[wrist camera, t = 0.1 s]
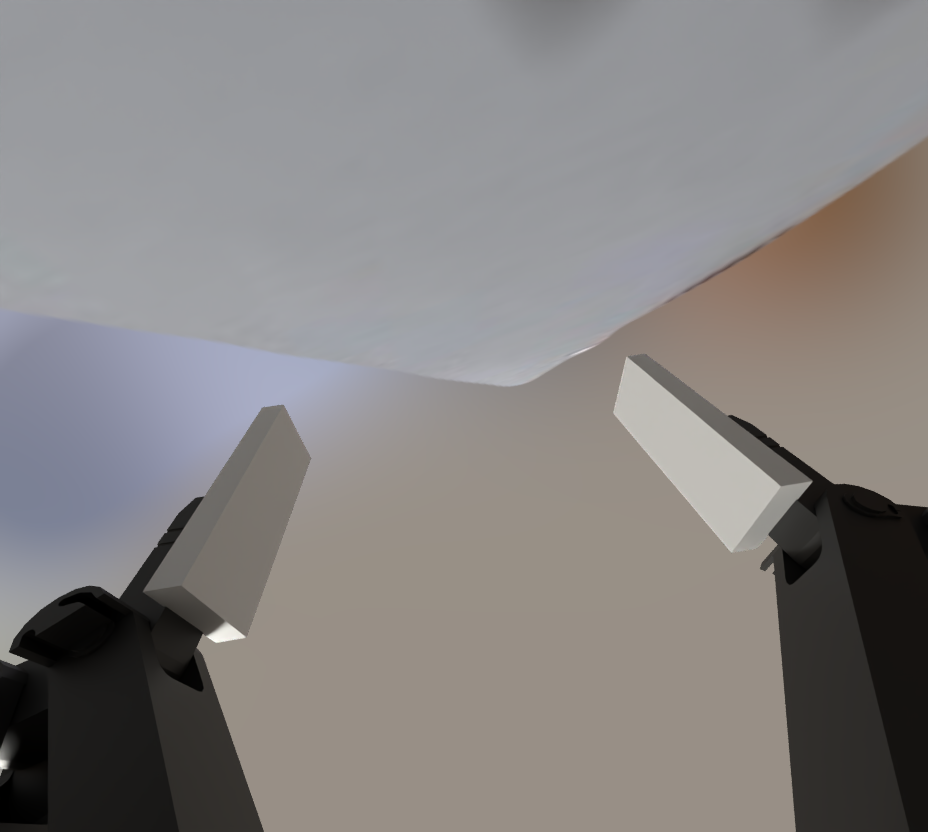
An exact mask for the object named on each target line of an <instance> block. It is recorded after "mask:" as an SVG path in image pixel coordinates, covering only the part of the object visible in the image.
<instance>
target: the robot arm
mask: <svg viewBox="0 0 928 832" xmlns="http://www.w3.org/2000/svg"><path fill="white" fill-rule="evenodd" d="M613 413H614V415H615V416H616V417H617V418H618V419H619V421H620V422H621V423H622V424H623V425H624V426H625V428H626V429H627V430H628V431H629V432H630V433H631V435H632V436H633V437H634V438H635V439H636V441H637V442H638V443H639V444H640V445H641V446H642V448H643V449H644V450H645V451H646V452H647V454H648V455H649V456H650V457H651V458H652V460H653V461H654V462H655V463H656V464H657V465H658V467H659V468H660V469H661V470H662V471H663V473H664V474H665V475H666V476H667V477H668V478H669V480H670V481H671V482H672V483H673V484H674V485H675V487H676V488H677V489H678V490H679V491H680V493H681V494H682V495H683V496H684V497H685V499H686V500H687V501H688V502H689V503H690V504H691V505H692V507H693V508H694V509H695V510H696V511H697V513H698V514H699V515H700V516H701V517H702V519H703V520H704V521H705V522H706V523H707V524H708V526H709V527H710V528H711V529H712V530H713V532H714V533H715V534H716V535H717V536H718V537H719V539H720V540H721V541H722V542H723V543H724V545H725V546H726V547H727V548H728V549H729V550H730V552H732V553H733V552H739V551H745V550H751V549H756V548H758V547H759V546H760V545H761V544H762V542H763V541H764V540H765V539H766V538H767V536H768V535H769V536H770V537H771V538H772V539H773V540H774V541H775V542H776V543H777V544H778V545H777V546H776V547H775V549H774V550H773V551H772V552H771V553H770V554H769V555H768V557H767V558H766V559H765V560H764V561H763V562H762V564H761V567H760V569H761V570H764V571H766V570H767V568H768V567H769V566H770V565H771V564H772V563H774V569H775V571H774V572H773V574H774V575H775V582H776V594H777V605H778V618H779V631H780V643H781V655H782V667H783V679H784V691H785V704H786V716H787V728H788V739H789V752H790V763H791V764H790V765H791V776H792V787H793V801H794V812H795V824H796V832H928V507H919V506H908V505H898V504H895V503H893V502H892V501H891V500H889V499H887V498H885V497H884V496H882V495H880V494H878V493H876V492H874V491H871V490H868V489H865V488H862V487H859V486H854V485H849V484H833V483H831V482H830V481H829V480H827V479H826V478H825V477H823V476H822V475H821V474H819V473H818V472H816V471H815V470H814V469H812V468H811V467H810V466H808V465H807V464H805V463H804V462H803V461H801V460H800V459H799V458H797V457H796V456H795V455H793V454H792V453H790V452H789V451H788V450H786V449H785V448H784V447H780V446H779V444H778V443H777V442H775V441H774V440H773V439H771V438H770V437H769V438H767V436H766V434H764V433H763V432H762V431H760V430H759V429H758V428H756V427H755V426H753V425H752V424H750V423H748V422H746V421H744V420H741V419H739V418H737V417H735V416H733V415H729V416H727V415H725V414H724V413H723V412H721V411H720V410H719V409H717V408H716V407H715V406H713V405H712V404H711V403H710V402H708V401H707V400H706V399H704V398H703V397H702V396H700V395H699V394H698V393H696V392H695V391H694V390H693V389H691V388H690V387H688V386H687V385H686V384H685V383H683V382H682V381H681V380H679V379H678V378H677V377H675V376H674V375H673V374H671V373H670V372H669V371H668V370H666V369H665V368H663V367H662V366H661V365H660V364H658V363H657V362H656V361H654V360H653V359H651V358H650V357H649V356H648V355H647V354H640V355H634V356H627V357H626V361H625V365H624V370H623V374H622V378H621V382H620V387H619V391H618V395H617V400H616V404H615V408H614V412H613ZM310 460H311V457H310V455H309V453H308V451H307V450H306V448H305V446H304V444H303V442H302V440H301V438H300V436H299V434H298V432H297V430H296V428H295V426H294V424H293V422H292V420H291V418H290V416H289V414H288V412H287V410H286V409H285V407H284V405H277V406H271V407H263V408H262V409H261V411H260V412H259V414H258V415H257V417H256V418H255V420H254V421H253V423H252V424H251V426H250V427H249V429H248V430H247V432H246V434H245V435H244V437H243V438H242V440H241V441H240V443H239V444H238V446H237V447H236V449H235V451H234V452H233V454H232V455H231V457H230V458H229V460H228V461H227V463H226V464H225V466H224V467H223V469H222V470H221V472H220V474H219V475H218V477H217V478H216V480H215V481H214V483H213V484H212V486H211V487H210V489H209V490H208V492H207V494H206V495H205V496H204V497H198V498H195V499H194V500H193V501H192V502H191V503H190V504H188V505H187V506H186V507H185V508H184V509H183V510H182V511H181V512H180V513H179V514H178V515H177V516H176V518H175V519H174V521H173V522H172V524H171V525H170V527H169V528H168V529H167V531H168V532H167V533H165V534H164V535H163V537H162V538H161V540H160V541H159V542H158V547H156V548H154V550H153V551H152V552H151V554H150V555H149V557H148V558H147V560H146V561H145V562H144V564H143V565H142V567H141V568H140V570H139V571H138V573H137V574H136V575H135V577H134V578H133V580H132V581H131V583H130V584H129V586H128V587H127V588H126V590H125V591H124V593H123V594H122V596H121V597H120V599H118V598H116V597H115V596H113V595H112V594H110V593H108V592H107V591H105V590H104V589H102V588H101V587H96V586H86V587H82V588H78V589H75V590H73V591H71V592H69V593H67V594H65V595H63V596H61V597H59V598H57V599H56V600H54V601H53V602H51V603H50V604H48V605H47V606H46V607H44V608H43V609H41V610H40V611H39V612H38V613H37V614H36V615H35V616H34V617H33V618H31V619H30V620H29V621H28V622H27V623H26V624H25V625H24V627H23V628H22V629H21V631H20V632H19V633H18V634H17V636H16V637H15V638H14V640H13V643H12V645H11V648H10V650H9V652H10V653H12V654H15V655H17V656H20V657H22V658H25V659H28V661H25V662H23V663H21V664H18V665H16V666H15V665H12V664H10V663H7V662H4V661H2V660H0V768H1V769H3V770H2V773H1V776H0V832H264V831H263V828H262V825H261V822H260V819H259V816H258V813H257V810H256V807H255V805H254V802H253V799H252V796H251V793H250V790H249V787H248V784H247V782H246V779H245V776H244V773H243V770H242V767H241V764H240V761H239V759H238V756H237V753H236V750H235V747H234V744H233V741H232V738H231V735H230V733H229V730H228V727H227V724H226V721H225V718H224V715H223V712H222V710H221V707H220V704H219V701H218V698H217V695H216V692H215V689H214V687H213V684H212V681H211V678H210V675H209V672H208V669H207V667H206V664H205V661H204V658H203V655H202V654H201V652H200V651H199V650H198V649H197V648H196V647H197V645H198V643H199V641H200V638H201V636H202V634H204V635H205V636H207V637H208V638H210V639H211V640H212V641H214V642H215V643H217V642H223V641H229V640H235V639H241V638H246V637H247V635H248V632H249V629H250V626H251V623H252V621H253V618H254V615H255V612H256V610H257V607H258V604H259V601H260V598H261V596H262V593H263V590H264V587H265V584H266V582H267V579H268V576H269V574H270V571H271V568H272V565H273V562H274V560H275V557H276V554H277V551H278V549H279V546H280V543H281V540H282V538H283V535H284V532H285V529H286V526H287V523H288V521H289V518H290V515H291V513H292V510H293V507H294V504H295V501H296V499H297V496H298V493H299V490H300V488H301V485H302V482H303V479H304V476H305V474H306V471H307V468H308V465H309V463H310Z"/></svg>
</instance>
